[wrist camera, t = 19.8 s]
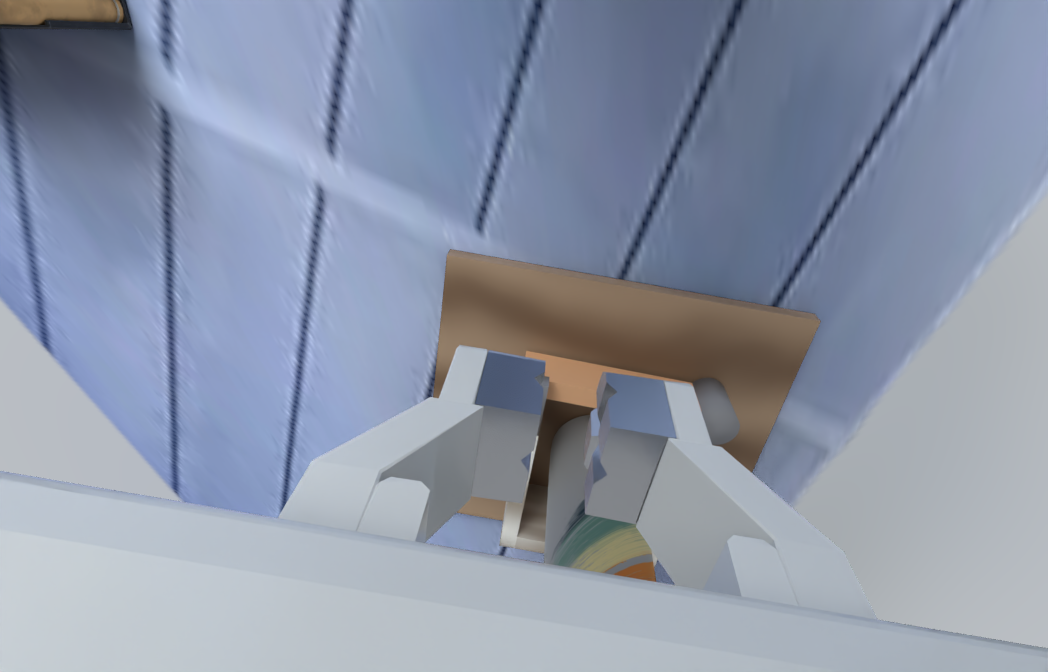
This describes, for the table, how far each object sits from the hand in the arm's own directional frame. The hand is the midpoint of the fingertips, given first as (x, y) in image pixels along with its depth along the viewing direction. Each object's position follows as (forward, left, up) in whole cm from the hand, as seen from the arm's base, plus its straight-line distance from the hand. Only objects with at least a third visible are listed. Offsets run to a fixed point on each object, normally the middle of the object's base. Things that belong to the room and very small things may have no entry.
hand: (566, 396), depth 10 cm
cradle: (+17, +5, -23) cm, 29 cm away
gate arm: (+12, +6, -22) cm, 26 cm away
